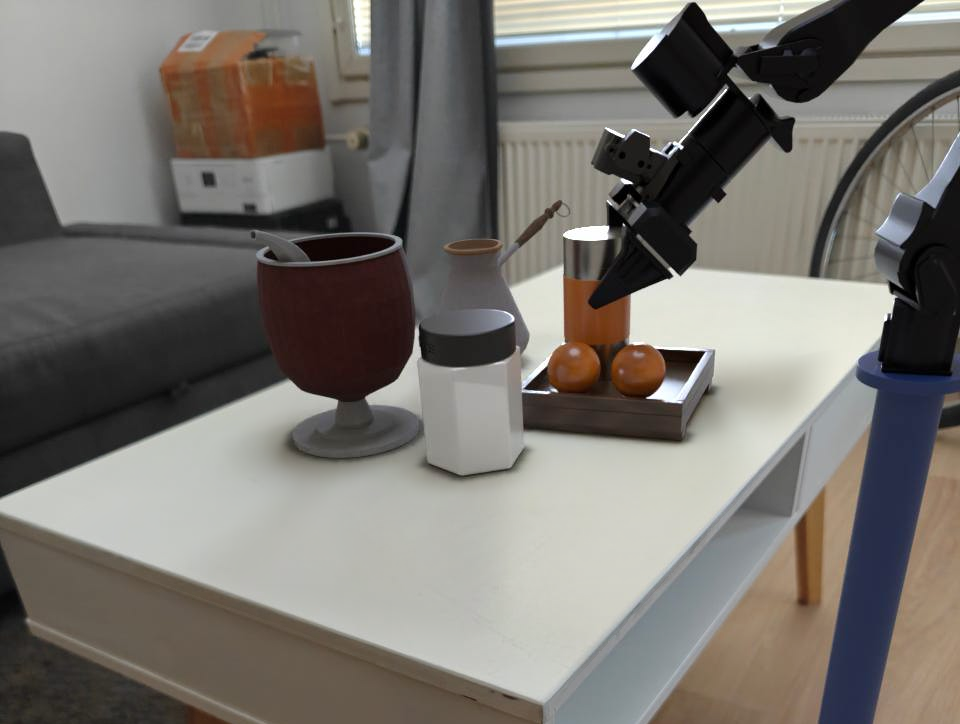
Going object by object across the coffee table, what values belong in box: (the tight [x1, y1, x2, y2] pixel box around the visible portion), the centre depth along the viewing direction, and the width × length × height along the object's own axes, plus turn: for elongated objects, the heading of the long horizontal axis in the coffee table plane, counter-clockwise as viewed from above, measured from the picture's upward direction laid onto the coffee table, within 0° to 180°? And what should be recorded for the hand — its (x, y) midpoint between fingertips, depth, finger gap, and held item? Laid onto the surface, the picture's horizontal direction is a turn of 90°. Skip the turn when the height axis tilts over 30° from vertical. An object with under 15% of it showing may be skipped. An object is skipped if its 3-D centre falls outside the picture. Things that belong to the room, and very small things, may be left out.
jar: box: [416, 309, 525, 477], centre depth 80 cm, size 9×8×12 cm
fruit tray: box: [521, 341, 716, 441], centre depth 89 cm, size 16×16×8 cm
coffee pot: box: [436, 199, 571, 356], centre depth 105 cm, size 21×12×15 cm, turn 137°
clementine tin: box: [562, 225, 632, 380], centre depth 90 cm, size 6×6×13 cm
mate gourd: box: [249, 229, 420, 459], centre depth 84 cm, size 16×14×20 cm
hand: (586, 293), depth 89 cm, fingers open, 9 cm apart
